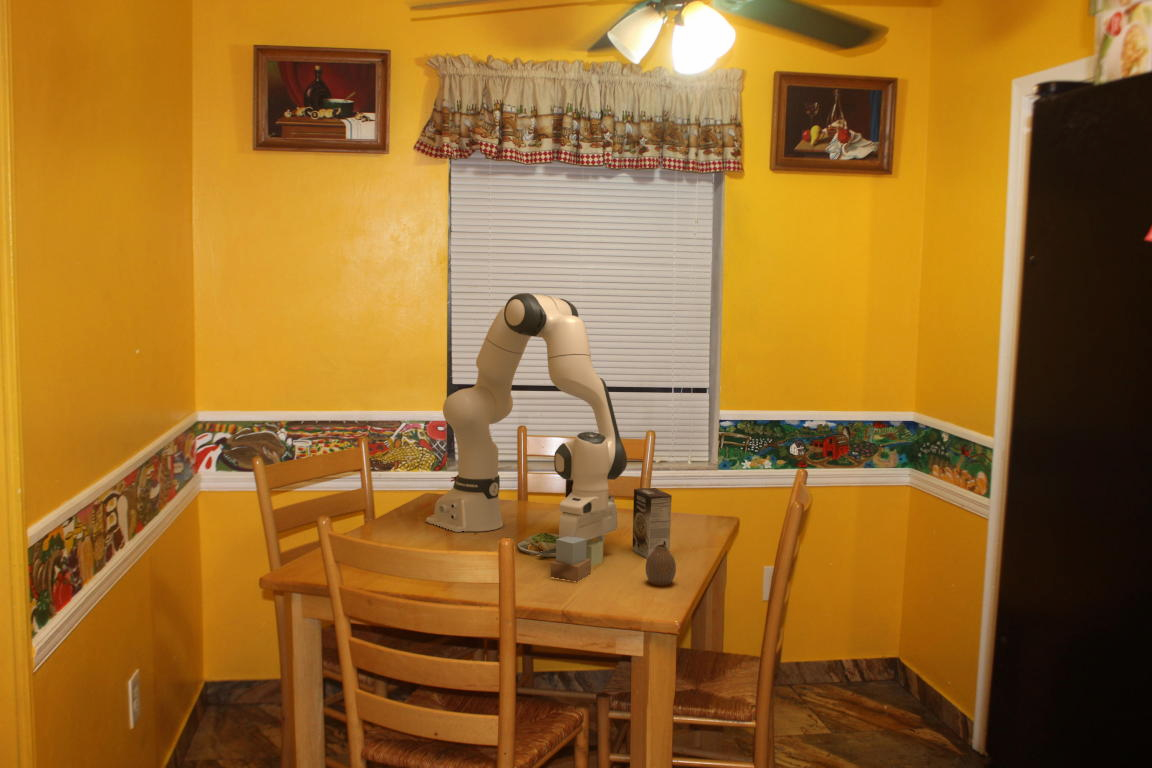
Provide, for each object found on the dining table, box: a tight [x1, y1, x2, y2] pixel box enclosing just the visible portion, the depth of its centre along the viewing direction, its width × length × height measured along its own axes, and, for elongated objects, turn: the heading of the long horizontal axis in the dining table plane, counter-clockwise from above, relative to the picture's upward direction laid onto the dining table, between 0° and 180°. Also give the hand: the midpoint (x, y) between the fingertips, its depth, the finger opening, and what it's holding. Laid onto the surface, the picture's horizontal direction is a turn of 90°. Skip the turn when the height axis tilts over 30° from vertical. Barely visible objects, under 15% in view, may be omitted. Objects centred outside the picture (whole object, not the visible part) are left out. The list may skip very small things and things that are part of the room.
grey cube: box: [555, 536, 587, 565], centre depth 216 cm, size 5×5×5 cm
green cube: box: [586, 539, 604, 567], centre depth 228 cm, size 5×5×5 cm
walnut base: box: [549, 559, 592, 582], centre depth 216 cm, size 7×7×4 cm
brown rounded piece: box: [645, 544, 677, 587], centre depth 212 cm, size 7×7×9 cm
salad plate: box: [517, 531, 559, 558], centre depth 238 cm, size 19×18×5 cm
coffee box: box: [631, 487, 673, 560], centre depth 235 cm, size 9×6×16 cm
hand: (588, 555), depth 228 cm, fingers open, 6 cm apart
